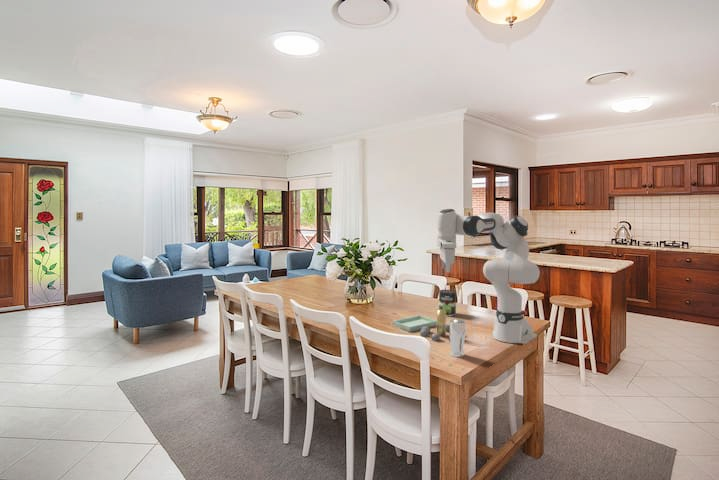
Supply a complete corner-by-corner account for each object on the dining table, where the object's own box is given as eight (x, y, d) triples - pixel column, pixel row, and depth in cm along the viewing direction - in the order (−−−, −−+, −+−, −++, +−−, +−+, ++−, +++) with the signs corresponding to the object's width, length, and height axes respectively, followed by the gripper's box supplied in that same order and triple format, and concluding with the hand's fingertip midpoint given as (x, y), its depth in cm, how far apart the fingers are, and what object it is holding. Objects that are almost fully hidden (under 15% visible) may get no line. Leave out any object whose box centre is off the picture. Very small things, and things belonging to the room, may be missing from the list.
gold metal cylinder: (441, 333, 196) (441, 308, 195) (447, 335, 192) (448, 310, 191) (435, 335, 194) (435, 310, 193) (441, 337, 190) (441, 311, 189)
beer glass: (464, 358, 163) (464, 324, 162) (447, 356, 166) (448, 322, 164) (466, 352, 170) (466, 320, 168) (450, 350, 172) (450, 318, 171)
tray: (419, 319, 221) (419, 315, 221) (436, 325, 209) (436, 320, 209) (392, 325, 210) (392, 320, 210) (409, 332, 198) (409, 327, 198)
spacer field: (440, 326, 207) (440, 322, 207) (471, 337, 189) (471, 332, 189) (414, 333, 196) (414, 328, 196) (444, 345, 179) (445, 340, 179)
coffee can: (455, 316, 226) (455, 293, 225) (437, 315, 229) (438, 292, 228) (456, 312, 236) (456, 290, 235) (439, 311, 239) (439, 289, 238)
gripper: (436, 240, 196) (436, 266, 197) (443, 245, 176) (442, 274, 177) (449, 240, 195) (449, 266, 197) (457, 245, 175) (456, 274, 177)
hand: (446, 270), depth 187 cm, fingers open, 8 cm apart
